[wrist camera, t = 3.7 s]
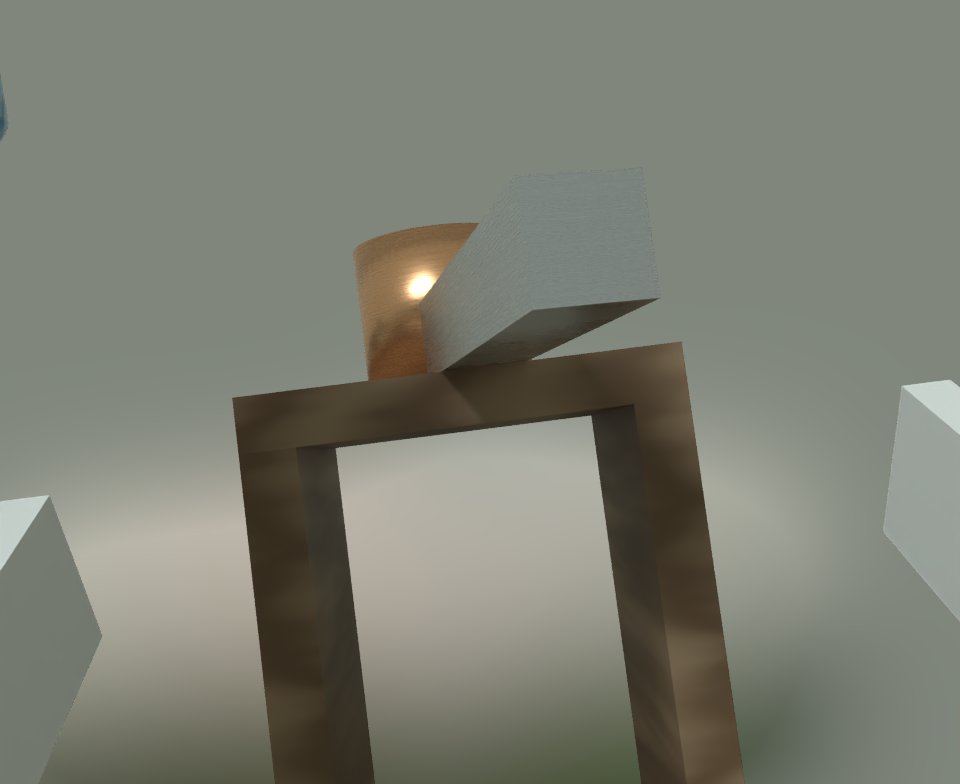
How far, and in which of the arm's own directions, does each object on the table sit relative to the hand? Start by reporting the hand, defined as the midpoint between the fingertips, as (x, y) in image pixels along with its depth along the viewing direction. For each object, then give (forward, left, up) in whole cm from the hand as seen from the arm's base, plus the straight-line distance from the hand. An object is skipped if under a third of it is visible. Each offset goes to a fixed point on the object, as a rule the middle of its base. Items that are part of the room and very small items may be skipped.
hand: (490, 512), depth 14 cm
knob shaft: (+1, +16, +4) cm, 17 cm away
